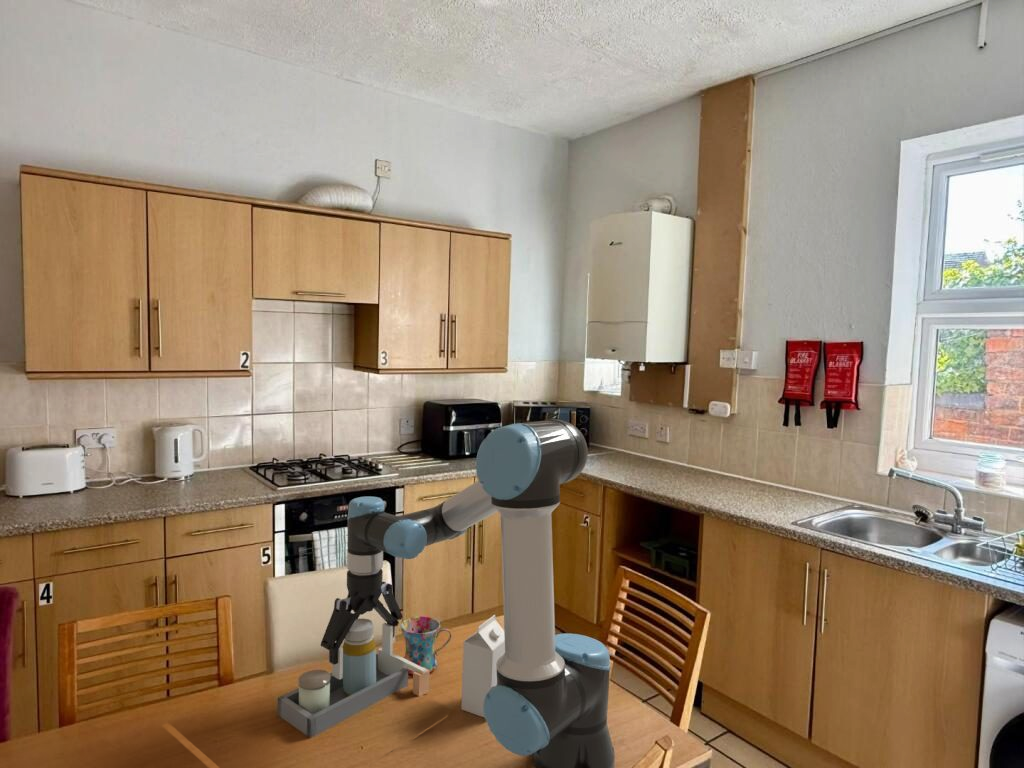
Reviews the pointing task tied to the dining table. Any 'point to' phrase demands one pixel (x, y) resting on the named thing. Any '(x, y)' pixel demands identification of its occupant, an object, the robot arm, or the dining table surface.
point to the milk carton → (481, 665)
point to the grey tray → (339, 702)
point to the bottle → (359, 657)
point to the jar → (314, 690)
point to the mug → (422, 641)
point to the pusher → (396, 663)
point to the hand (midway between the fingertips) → (363, 664)
